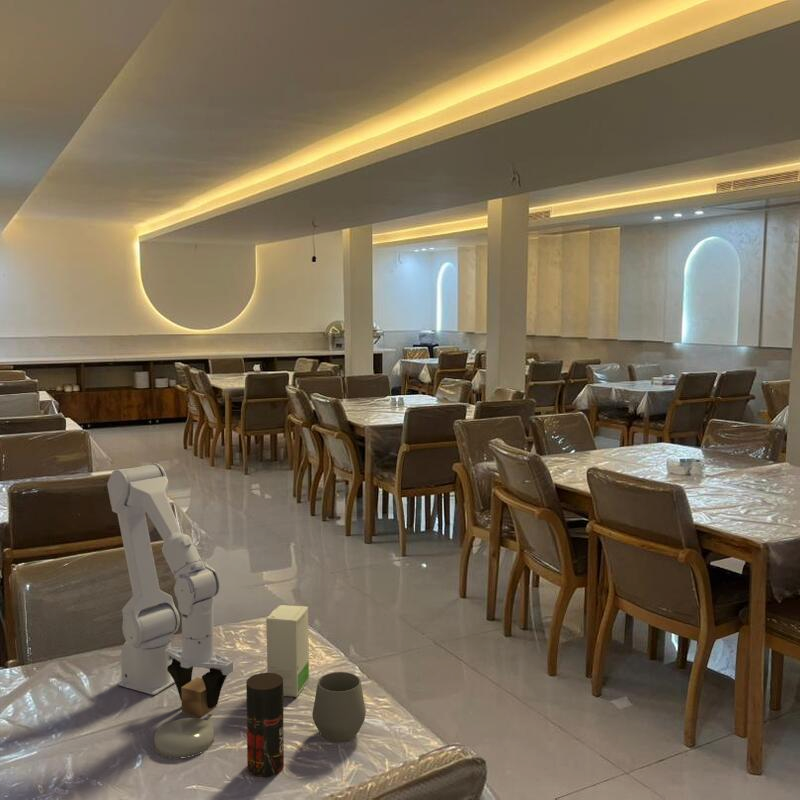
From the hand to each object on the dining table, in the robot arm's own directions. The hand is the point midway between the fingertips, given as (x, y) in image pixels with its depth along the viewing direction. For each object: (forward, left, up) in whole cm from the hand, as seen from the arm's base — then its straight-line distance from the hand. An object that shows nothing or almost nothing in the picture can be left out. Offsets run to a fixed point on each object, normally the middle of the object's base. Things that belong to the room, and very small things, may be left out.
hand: (199, 702), depth 148 cm
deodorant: (+22, -10, -2) cm, 24 cm away
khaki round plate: (+5, -10, -2) cm, 11 cm away
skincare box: (+10, +15, -2) cm, 18 cm away
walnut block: (0, 0, -2) cm, 2 cm away
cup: (+28, +4, -2) cm, 28 cm away
